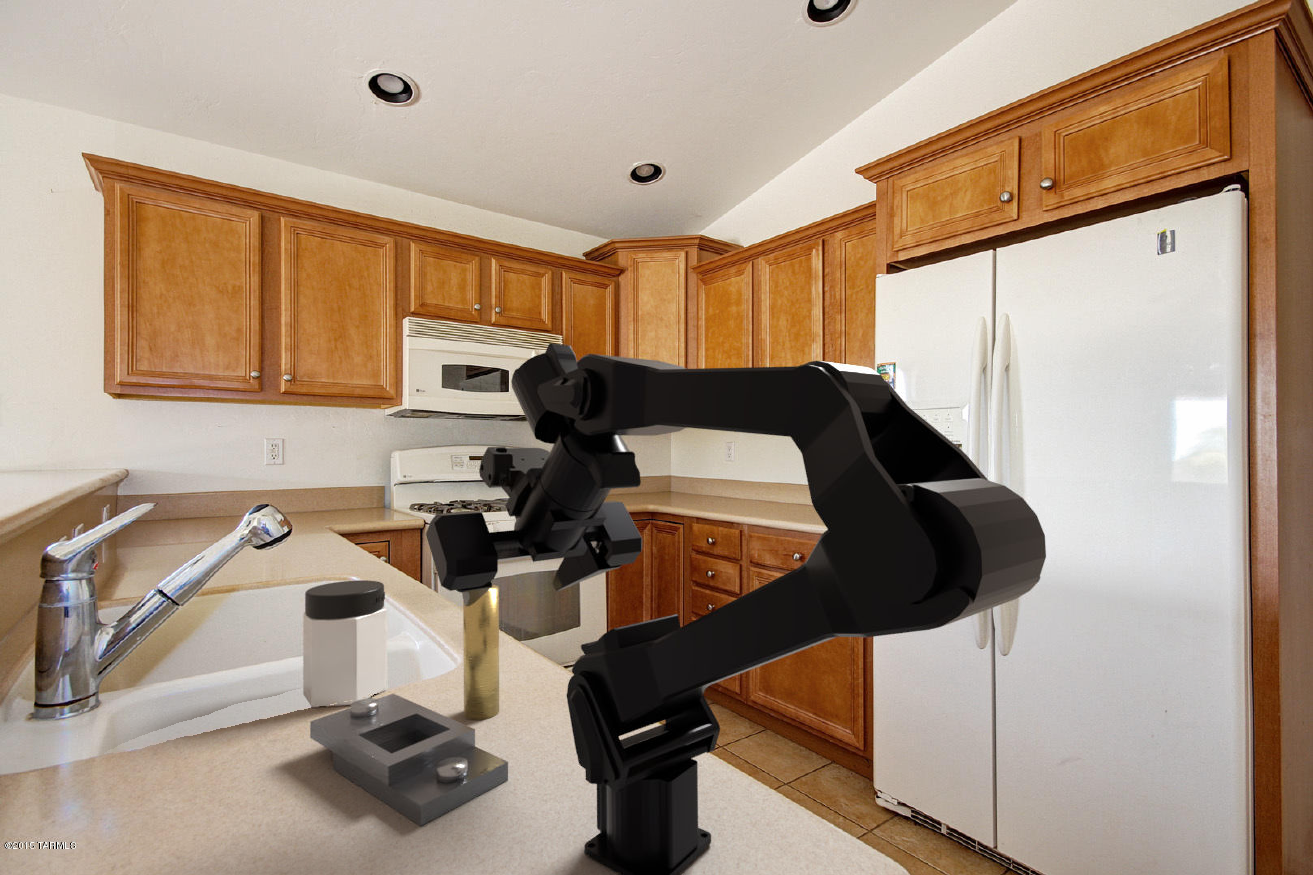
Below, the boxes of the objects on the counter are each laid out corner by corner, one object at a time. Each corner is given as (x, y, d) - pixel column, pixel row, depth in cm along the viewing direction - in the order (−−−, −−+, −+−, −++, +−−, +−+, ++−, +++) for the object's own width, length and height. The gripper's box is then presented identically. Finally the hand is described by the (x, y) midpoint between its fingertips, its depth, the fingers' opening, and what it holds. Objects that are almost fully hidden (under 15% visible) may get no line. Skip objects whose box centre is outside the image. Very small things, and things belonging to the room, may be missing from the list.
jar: (395, 695, 71) (395, 588, 71) (314, 715, 65) (314, 600, 66) (372, 673, 78) (372, 576, 78) (298, 690, 72) (298, 586, 73)
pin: (506, 710, 66) (505, 587, 66) (477, 722, 63) (477, 593, 63) (485, 702, 68) (484, 583, 68) (456, 713, 65) (456, 589, 66)
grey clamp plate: (508, 779, 52) (507, 733, 52) (420, 826, 46) (420, 773, 46) (393, 723, 63) (393, 685, 63) (310, 754, 57) (310, 712, 57)
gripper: (625, 418, 61) (567, 520, 70) (434, 414, 50) (393, 536, 58) (677, 506, 55) (607, 605, 64) (473, 523, 43) (420, 642, 52)
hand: (512, 593), depth 60 cm, fingers open, 9 cm apart
